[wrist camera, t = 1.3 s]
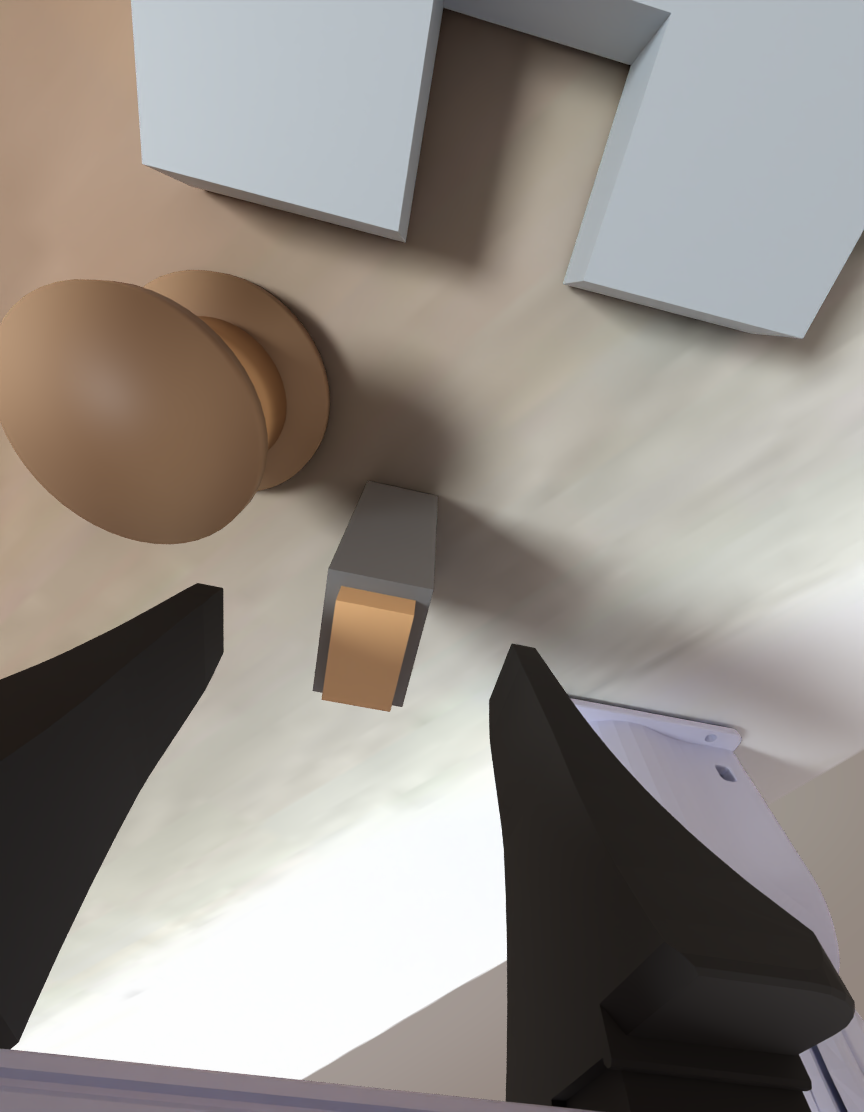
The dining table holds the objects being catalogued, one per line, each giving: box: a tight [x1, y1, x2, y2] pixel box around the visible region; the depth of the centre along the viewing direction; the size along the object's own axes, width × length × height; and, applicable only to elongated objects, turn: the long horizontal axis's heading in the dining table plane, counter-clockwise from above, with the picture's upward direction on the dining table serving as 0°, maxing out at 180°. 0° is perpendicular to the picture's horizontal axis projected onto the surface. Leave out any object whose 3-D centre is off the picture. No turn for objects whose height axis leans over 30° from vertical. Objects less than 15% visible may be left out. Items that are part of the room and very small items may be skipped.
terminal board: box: [131, 0, 864, 339], centre depth 10 cm, size 16×6×2 cm, turn 78°
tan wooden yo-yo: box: [0, 270, 330, 544], centre depth 12 cm, size 6×6×5 cm
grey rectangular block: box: [313, 481, 438, 712], centre depth 14 cm, size 2×4×7 cm, turn 167°
